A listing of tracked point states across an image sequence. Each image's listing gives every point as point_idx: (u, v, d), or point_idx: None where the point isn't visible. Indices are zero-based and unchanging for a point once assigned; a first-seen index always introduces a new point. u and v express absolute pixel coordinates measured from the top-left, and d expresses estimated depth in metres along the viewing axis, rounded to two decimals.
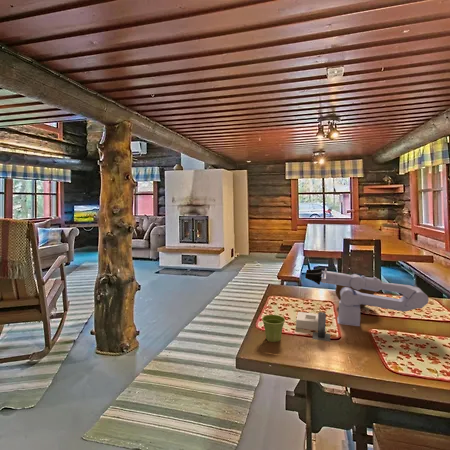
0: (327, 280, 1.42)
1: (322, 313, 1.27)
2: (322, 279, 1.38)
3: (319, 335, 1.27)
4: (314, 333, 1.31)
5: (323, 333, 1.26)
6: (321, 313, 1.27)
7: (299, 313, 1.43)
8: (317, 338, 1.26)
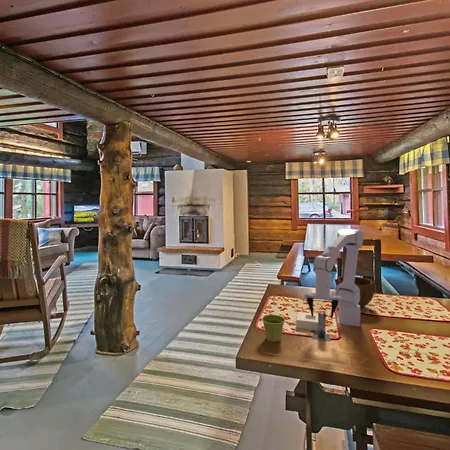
0: None
1: (322, 313, 1.27)
2: (341, 300, 1.24)
3: (319, 335, 1.27)
4: (314, 333, 1.31)
5: (323, 333, 1.26)
6: (321, 313, 1.27)
7: (299, 313, 1.43)
8: (317, 338, 1.26)
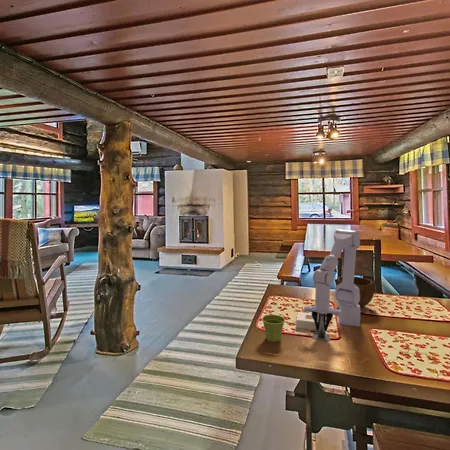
0: None
1: None
2: (340, 314, 1.24)
3: (319, 335, 1.27)
4: (314, 333, 1.31)
5: (323, 333, 1.26)
6: None
7: (299, 313, 1.43)
8: (317, 338, 1.26)
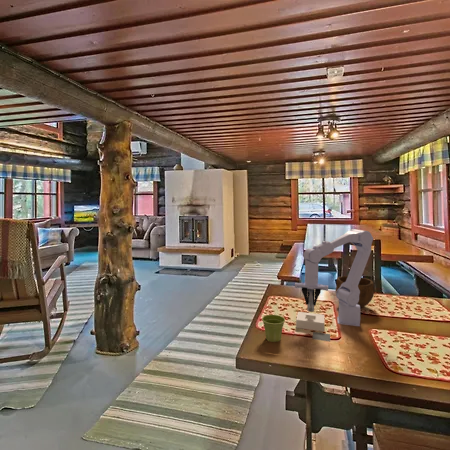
0: None
1: (311, 289, 1.37)
2: None
3: (308, 309, 1.38)
4: (314, 333, 1.31)
5: (312, 307, 1.37)
6: (310, 289, 1.38)
7: (299, 313, 1.43)
8: (317, 338, 1.26)
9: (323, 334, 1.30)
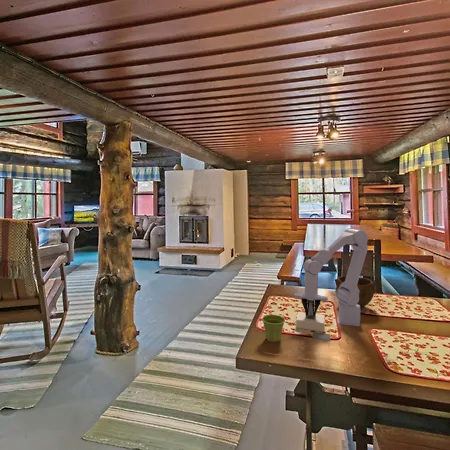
0: None
1: (311, 300, 1.38)
2: (327, 300, 1.35)
3: None
4: (314, 333, 1.31)
5: (312, 318, 1.37)
6: (310, 300, 1.38)
7: (299, 313, 1.43)
8: (317, 338, 1.26)
9: (323, 334, 1.30)
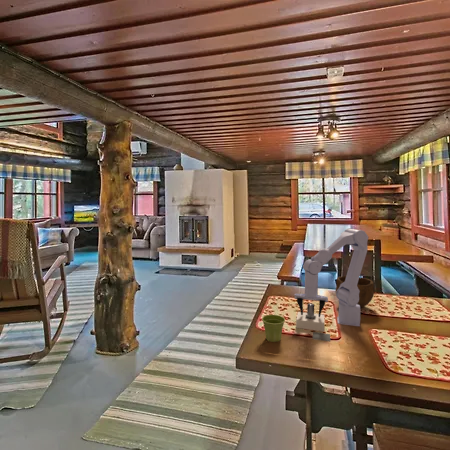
0: None
1: (311, 304, 1.38)
2: (327, 300, 1.35)
3: None
4: (314, 333, 1.31)
5: None
6: (310, 304, 1.38)
7: (299, 313, 1.43)
8: (317, 338, 1.26)
9: (323, 334, 1.30)
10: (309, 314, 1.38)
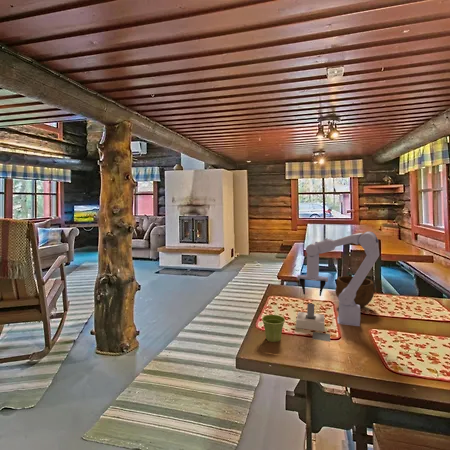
0: None
1: (311, 304, 1.38)
2: (327, 280, 1.48)
3: None
4: (314, 333, 1.31)
5: None
6: (310, 304, 1.38)
7: (299, 313, 1.43)
8: (317, 338, 1.26)
9: (323, 334, 1.30)
10: (309, 314, 1.38)
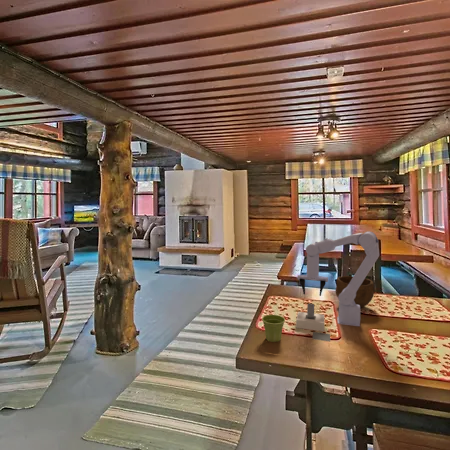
0: None
1: (311, 304, 1.38)
2: (327, 280, 1.48)
3: None
4: (314, 333, 1.31)
5: None
6: (310, 304, 1.38)
7: (299, 313, 1.43)
8: (317, 338, 1.26)
9: (323, 334, 1.30)
10: (309, 314, 1.38)
